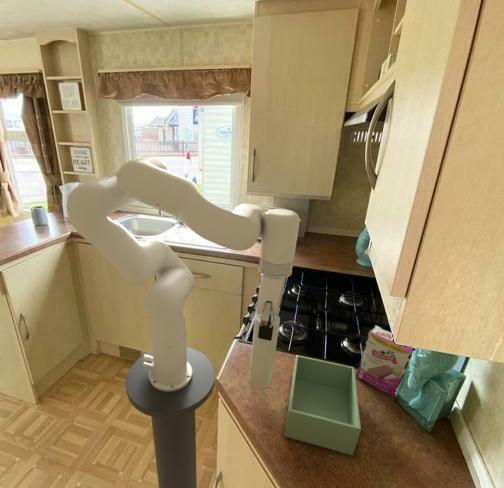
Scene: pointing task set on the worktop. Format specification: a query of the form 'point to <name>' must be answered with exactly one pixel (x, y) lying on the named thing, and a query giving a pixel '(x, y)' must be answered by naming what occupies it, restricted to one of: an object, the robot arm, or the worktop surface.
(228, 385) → the worktop surface
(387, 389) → the candy bar box
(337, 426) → the bin
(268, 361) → the paper towel roll
